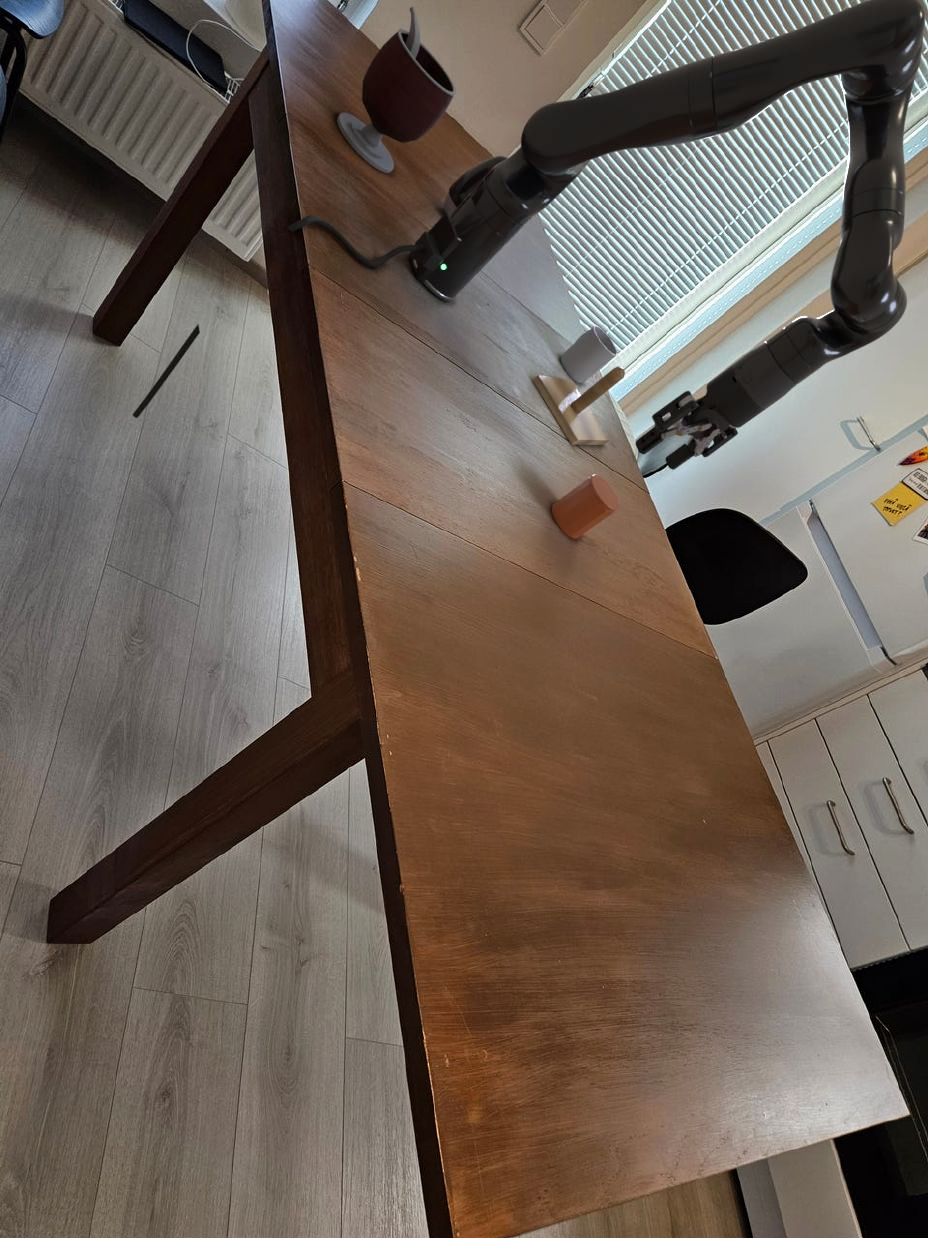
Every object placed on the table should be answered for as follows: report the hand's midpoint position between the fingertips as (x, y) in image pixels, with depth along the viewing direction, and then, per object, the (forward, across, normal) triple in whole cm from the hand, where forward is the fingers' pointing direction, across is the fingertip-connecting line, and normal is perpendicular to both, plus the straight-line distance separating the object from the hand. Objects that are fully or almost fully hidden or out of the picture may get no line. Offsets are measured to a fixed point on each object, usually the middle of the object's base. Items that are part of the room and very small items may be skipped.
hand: (653, 456), depth 116 cm
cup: (+17, -26, -45) cm, 55 cm away
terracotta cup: (+17, +1, 0) cm, 17 cm away
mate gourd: (+16, +19, -78) cm, 82 cm away
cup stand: (+16, -16, -28) cm, 37 cm away
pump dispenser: (+16, -3, -72) cm, 73 cm away
